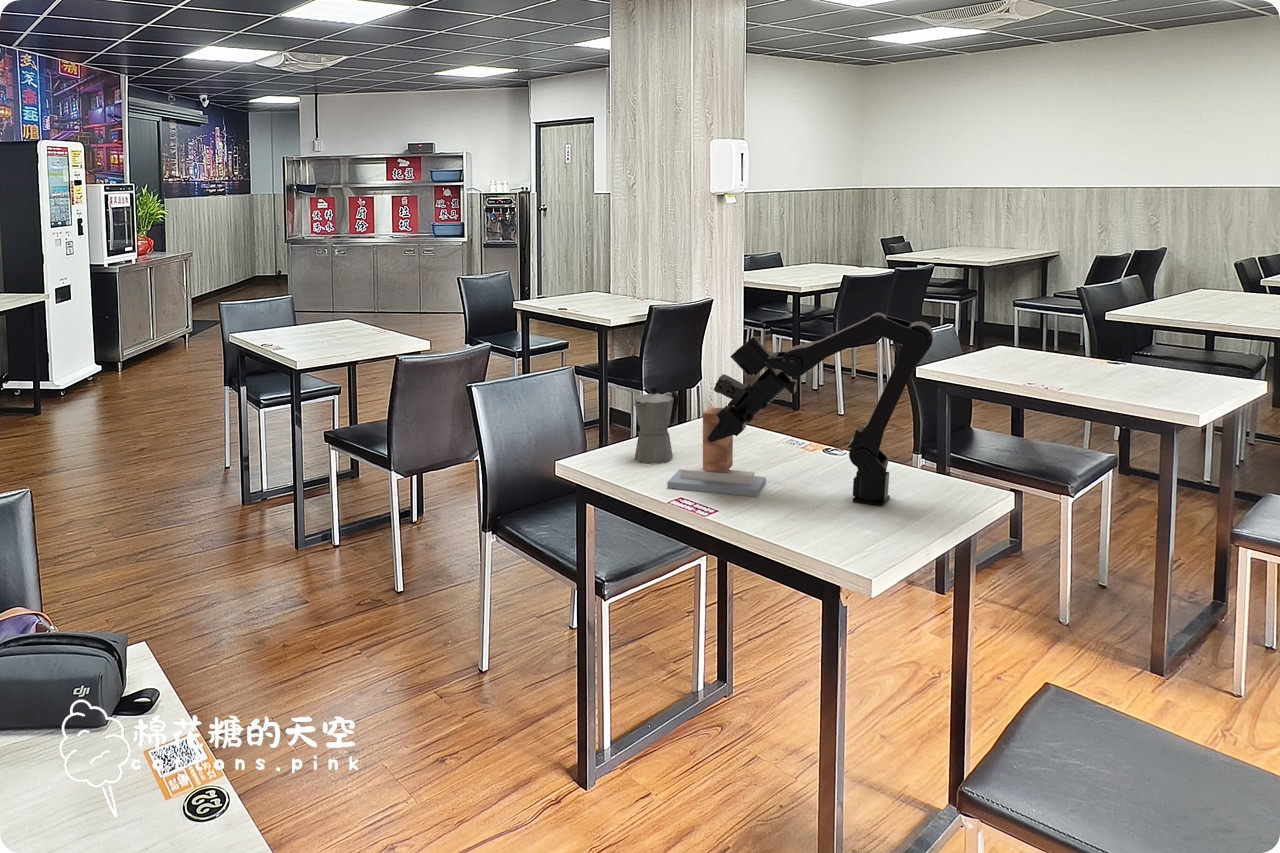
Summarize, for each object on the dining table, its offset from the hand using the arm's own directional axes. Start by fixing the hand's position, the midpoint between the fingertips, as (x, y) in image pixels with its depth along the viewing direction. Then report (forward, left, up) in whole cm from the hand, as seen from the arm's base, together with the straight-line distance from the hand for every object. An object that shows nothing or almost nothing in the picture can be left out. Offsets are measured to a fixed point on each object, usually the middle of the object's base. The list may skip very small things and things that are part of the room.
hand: (711, 437), depth 221 cm
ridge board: (-1, 0, -11) cm, 11 cm away
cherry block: (-1, 0, -7) cm, 7 cm away
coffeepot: (+21, -14, -11) cm, 28 cm away
